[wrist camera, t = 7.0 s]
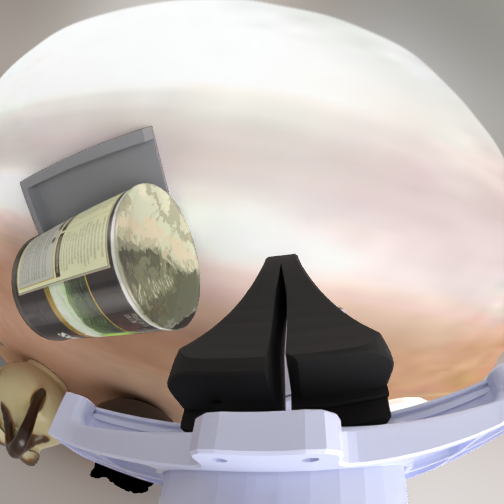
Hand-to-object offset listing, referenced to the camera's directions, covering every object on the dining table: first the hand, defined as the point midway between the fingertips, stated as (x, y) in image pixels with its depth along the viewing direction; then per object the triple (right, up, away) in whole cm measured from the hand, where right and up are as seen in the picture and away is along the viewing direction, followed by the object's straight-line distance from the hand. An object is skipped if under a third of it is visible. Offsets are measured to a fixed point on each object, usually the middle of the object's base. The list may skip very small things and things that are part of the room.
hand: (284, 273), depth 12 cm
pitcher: (-50, -28, +33) cm, 66 cm away
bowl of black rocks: (-22, -28, +31) cm, 47 cm away
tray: (-15, +3, +11) cm, 19 cm away
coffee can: (-7, +1, +5) cm, 9 cm away
